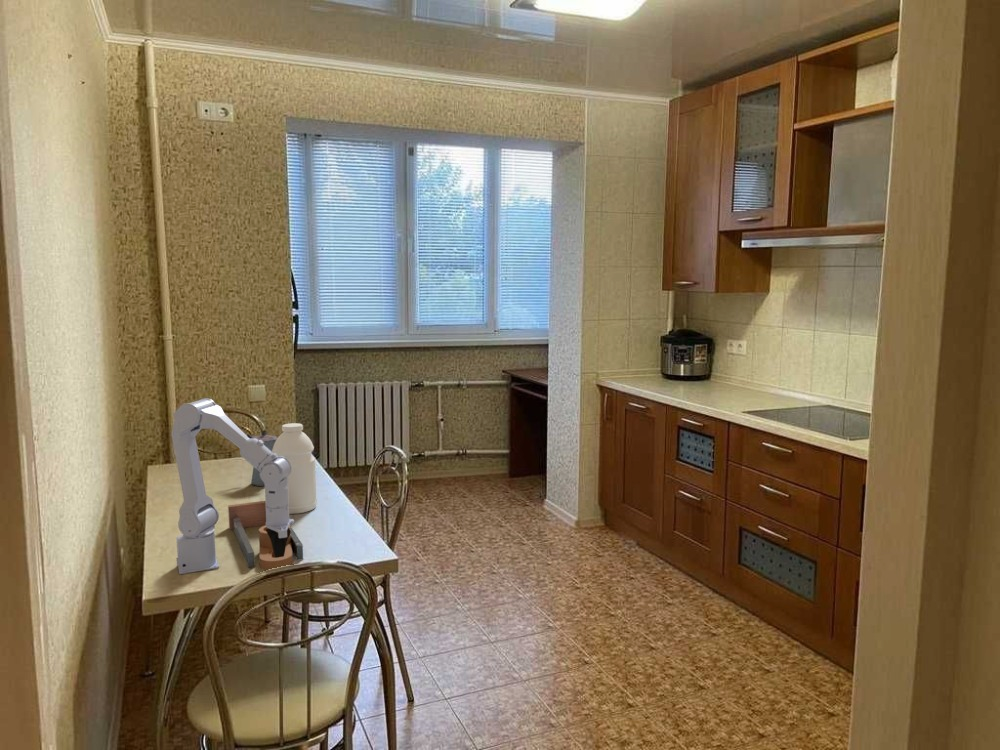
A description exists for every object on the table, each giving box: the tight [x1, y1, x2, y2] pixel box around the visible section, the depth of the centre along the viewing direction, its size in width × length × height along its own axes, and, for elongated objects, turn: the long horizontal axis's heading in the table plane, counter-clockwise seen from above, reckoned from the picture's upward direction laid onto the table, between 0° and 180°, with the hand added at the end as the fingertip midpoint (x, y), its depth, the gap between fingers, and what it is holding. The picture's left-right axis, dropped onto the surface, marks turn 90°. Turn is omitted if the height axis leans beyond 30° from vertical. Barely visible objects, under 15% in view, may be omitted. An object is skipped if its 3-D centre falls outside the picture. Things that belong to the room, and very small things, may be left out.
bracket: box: [258, 525, 294, 571], centre depth 199 cm, size 18×8×7 cm, turn 18°
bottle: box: [272, 422, 318, 515], centre depth 241 cm, size 14×14×28 cm
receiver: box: [227, 500, 304, 569], centre depth 211 cm, size 16×36×7 cm, turn 26°
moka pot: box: [246, 430, 278, 487], centre depth 272 cm, size 10×15×20 cm, turn 81°
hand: (279, 556), depth 190 cm, fingers closed
